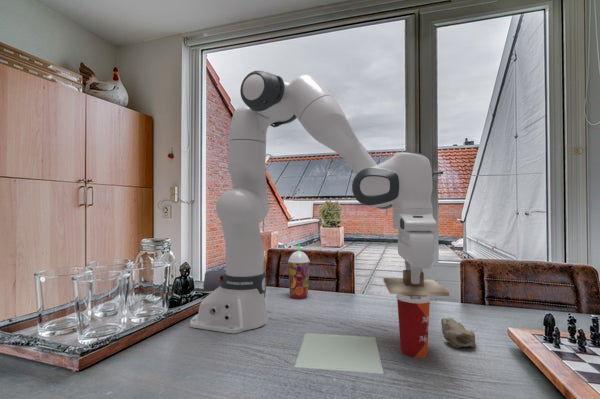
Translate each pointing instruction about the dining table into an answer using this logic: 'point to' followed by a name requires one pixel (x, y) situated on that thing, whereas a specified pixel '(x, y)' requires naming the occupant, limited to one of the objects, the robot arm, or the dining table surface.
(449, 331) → the sculpture
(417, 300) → the paper cup
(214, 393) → the dining table surface
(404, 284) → the lid
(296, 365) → the mat
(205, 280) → the bluetooth speaker
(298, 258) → the smoothie
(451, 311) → the dining table surface
